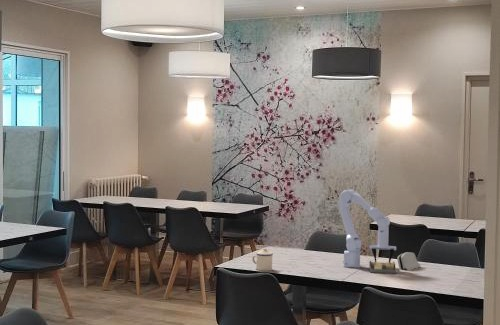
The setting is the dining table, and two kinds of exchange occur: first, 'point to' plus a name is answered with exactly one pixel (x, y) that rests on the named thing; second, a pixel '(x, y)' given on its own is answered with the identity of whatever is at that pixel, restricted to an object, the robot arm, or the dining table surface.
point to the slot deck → (379, 263)
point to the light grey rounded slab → (407, 261)
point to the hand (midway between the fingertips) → (382, 262)
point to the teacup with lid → (263, 260)
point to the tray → (382, 270)
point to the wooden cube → (377, 266)
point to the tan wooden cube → (389, 266)
